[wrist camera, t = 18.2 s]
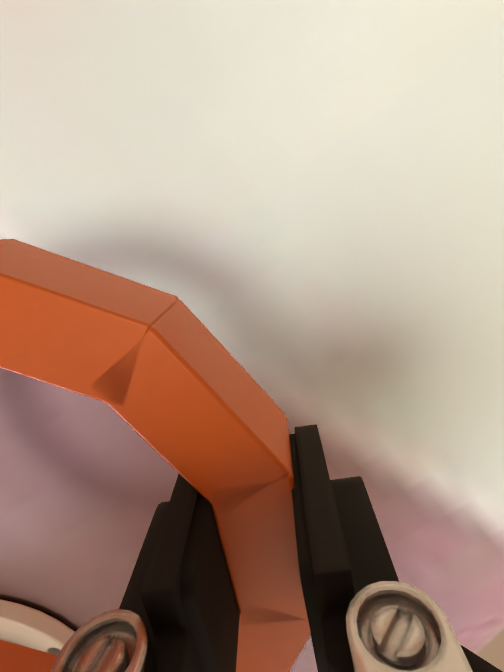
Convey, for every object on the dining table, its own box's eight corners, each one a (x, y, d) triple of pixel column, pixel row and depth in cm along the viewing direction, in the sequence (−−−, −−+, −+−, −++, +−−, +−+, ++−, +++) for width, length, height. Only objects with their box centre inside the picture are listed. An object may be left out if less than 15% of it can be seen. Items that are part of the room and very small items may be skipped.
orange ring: (331, 667, 11) (345, 768, 9) (-82, 703, 13) (-150, 800, 11) (247, 191, 8) (239, 183, 5) (-340, 307, 9) (-531, 337, 7)
